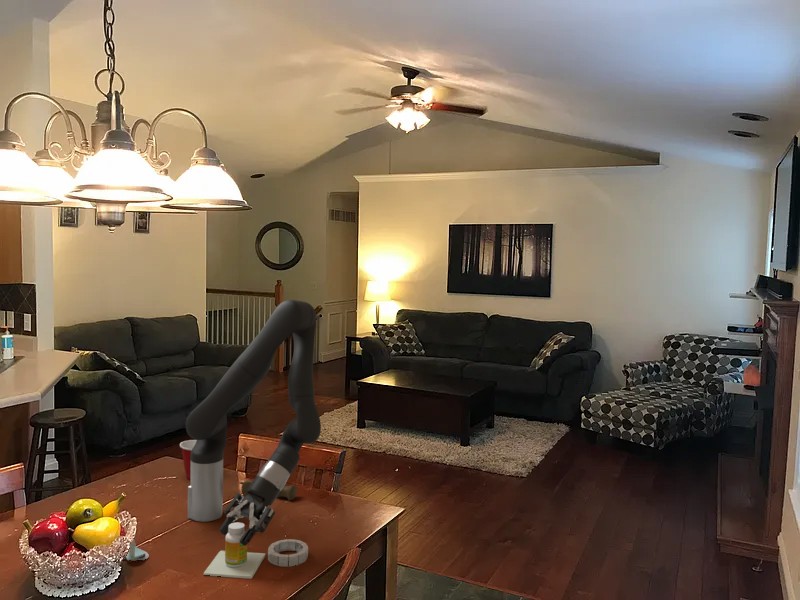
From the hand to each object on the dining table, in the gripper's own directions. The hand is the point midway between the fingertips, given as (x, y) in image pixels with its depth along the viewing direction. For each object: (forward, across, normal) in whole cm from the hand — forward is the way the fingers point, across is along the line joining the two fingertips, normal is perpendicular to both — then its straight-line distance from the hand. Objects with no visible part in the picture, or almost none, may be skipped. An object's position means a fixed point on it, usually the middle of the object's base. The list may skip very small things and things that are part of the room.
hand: (231, 538), depth 164 cm
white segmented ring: (-4, +6, +14) cm, 16 cm away
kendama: (-20, -31, +31) cm, 48 cm away
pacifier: (+15, -21, -4) cm, 27 cm away
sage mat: (+4, 0, +6) cm, 7 cm away
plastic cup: (-15, -61, +26) cm, 68 cm away
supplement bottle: (+4, 0, +6) cm, 7 cm away
